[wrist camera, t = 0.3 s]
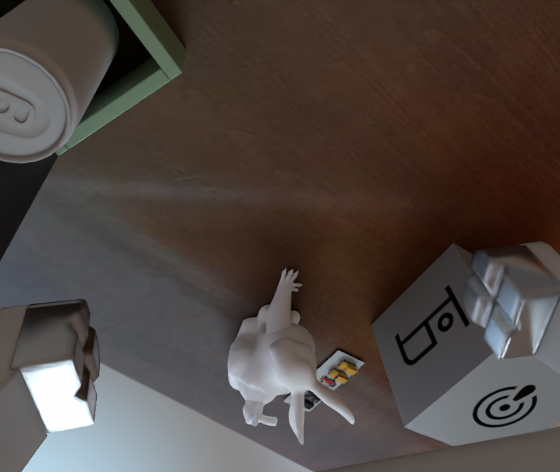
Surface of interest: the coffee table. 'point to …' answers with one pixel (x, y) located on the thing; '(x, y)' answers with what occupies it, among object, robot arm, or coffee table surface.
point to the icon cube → (458, 365)
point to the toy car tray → (331, 376)
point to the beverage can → (50, 72)
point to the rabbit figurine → (278, 362)
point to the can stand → (96, 110)
